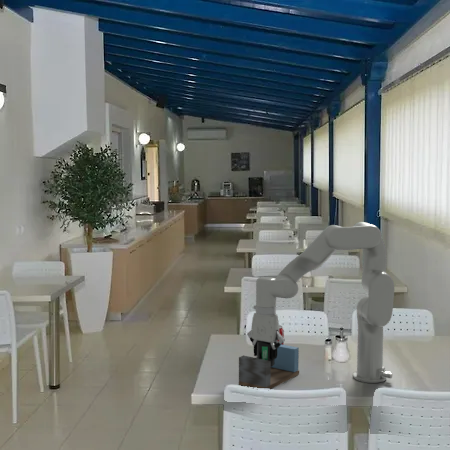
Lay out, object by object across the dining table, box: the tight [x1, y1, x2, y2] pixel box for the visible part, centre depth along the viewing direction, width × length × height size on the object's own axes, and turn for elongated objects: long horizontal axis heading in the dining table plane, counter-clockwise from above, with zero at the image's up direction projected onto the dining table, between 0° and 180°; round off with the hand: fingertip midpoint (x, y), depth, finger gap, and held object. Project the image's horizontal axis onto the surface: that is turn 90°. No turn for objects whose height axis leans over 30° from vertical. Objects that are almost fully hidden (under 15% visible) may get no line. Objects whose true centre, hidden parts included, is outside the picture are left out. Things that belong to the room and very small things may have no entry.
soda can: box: [277, 324, 285, 345], centre depth 287 cm, size 7×7×12 cm
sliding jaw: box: [272, 344, 300, 372], centre depth 262 cm, size 12×3×9 cm, turn 54°
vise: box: [238, 355, 300, 390], centre depth 254 cm, size 12×24×10 cm, turn 144°
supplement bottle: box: [256, 341, 275, 367], centre depth 251 cm, size 7×7×12 cm
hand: (265, 356), depth 251 cm, fingers closed on supplement bottle, 6 cm apart
